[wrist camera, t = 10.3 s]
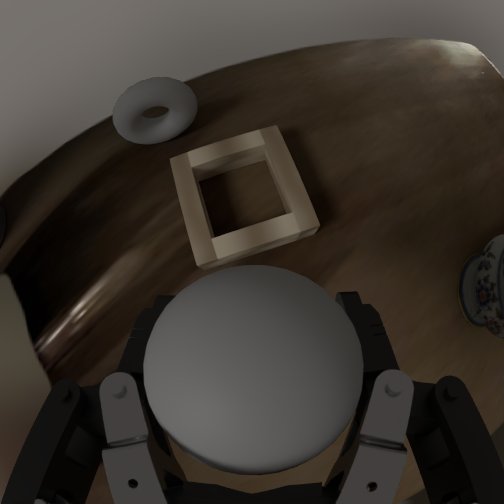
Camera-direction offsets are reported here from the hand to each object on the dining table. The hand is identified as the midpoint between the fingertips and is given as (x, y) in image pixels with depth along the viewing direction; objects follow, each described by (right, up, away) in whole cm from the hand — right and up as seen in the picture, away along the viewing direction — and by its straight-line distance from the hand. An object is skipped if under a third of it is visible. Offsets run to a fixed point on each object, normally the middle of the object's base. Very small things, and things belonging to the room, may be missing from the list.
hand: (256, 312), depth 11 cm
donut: (-11, +17, +22) cm, 30 cm away
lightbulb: (0, -3, +5) cm, 6 cm away
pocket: (-1, +8, +20) cm, 21 cm away
